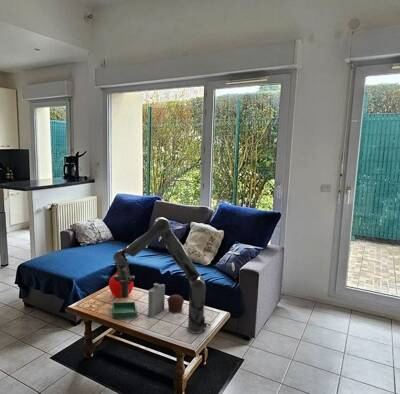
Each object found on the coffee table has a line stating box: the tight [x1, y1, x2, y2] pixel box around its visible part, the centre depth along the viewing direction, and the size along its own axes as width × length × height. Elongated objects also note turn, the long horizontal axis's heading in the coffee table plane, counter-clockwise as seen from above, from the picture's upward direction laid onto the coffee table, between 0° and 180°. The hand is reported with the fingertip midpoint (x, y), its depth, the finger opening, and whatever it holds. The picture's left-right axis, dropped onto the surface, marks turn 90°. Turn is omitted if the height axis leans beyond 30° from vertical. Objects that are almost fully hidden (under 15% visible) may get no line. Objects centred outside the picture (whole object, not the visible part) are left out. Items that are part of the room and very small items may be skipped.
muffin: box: [166, 294, 185, 313], centre depth 234 cm, size 12×11×10 cm
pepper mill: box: [121, 280, 129, 299], centre depth 227 cm, size 5×5×12 cm
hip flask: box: [147, 282, 166, 318], centre depth 229 cm, size 16×4×20 cm, turn 142°
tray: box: [112, 301, 138, 319], centre depth 229 cm, size 15×15×4 cm
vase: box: [108, 271, 135, 299], centre depth 253 cm, size 18×18×30 cm
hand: (125, 282), depth 228 cm, fingers closed on pepper mill, 5 cm apart
